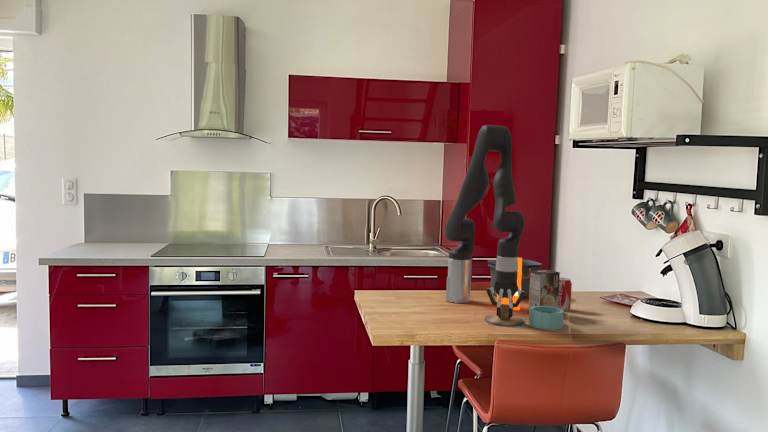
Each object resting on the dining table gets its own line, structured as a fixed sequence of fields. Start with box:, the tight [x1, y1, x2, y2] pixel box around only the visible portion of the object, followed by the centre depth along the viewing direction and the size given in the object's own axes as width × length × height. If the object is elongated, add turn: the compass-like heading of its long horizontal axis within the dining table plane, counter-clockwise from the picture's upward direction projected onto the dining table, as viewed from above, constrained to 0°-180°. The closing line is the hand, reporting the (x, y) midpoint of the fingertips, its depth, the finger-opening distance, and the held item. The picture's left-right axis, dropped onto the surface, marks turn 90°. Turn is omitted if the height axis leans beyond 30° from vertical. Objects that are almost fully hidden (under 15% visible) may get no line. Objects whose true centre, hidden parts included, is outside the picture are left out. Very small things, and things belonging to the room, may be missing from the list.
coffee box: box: [528, 269, 561, 312], centre depth 237 cm, size 9×6×16 cm
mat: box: [483, 314, 526, 329], centre depth 223 cm, size 14×14×1 cm
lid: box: [484, 304, 523, 327], centre depth 222 cm, size 13×13×6 cm
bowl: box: [528, 306, 565, 331], centre depth 219 cm, size 11×11×6 cm
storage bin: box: [487, 259, 543, 298], centre depth 268 cm, size 21×16×14 cm
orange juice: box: [495, 257, 523, 311], centre depth 244 cm, size 8×9×20 cm
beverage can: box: [558, 277, 573, 312], centre depth 245 cm, size 6×6×12 cm
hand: (504, 317), depth 223 cm, fingers closed on lid, 2 cm apart
